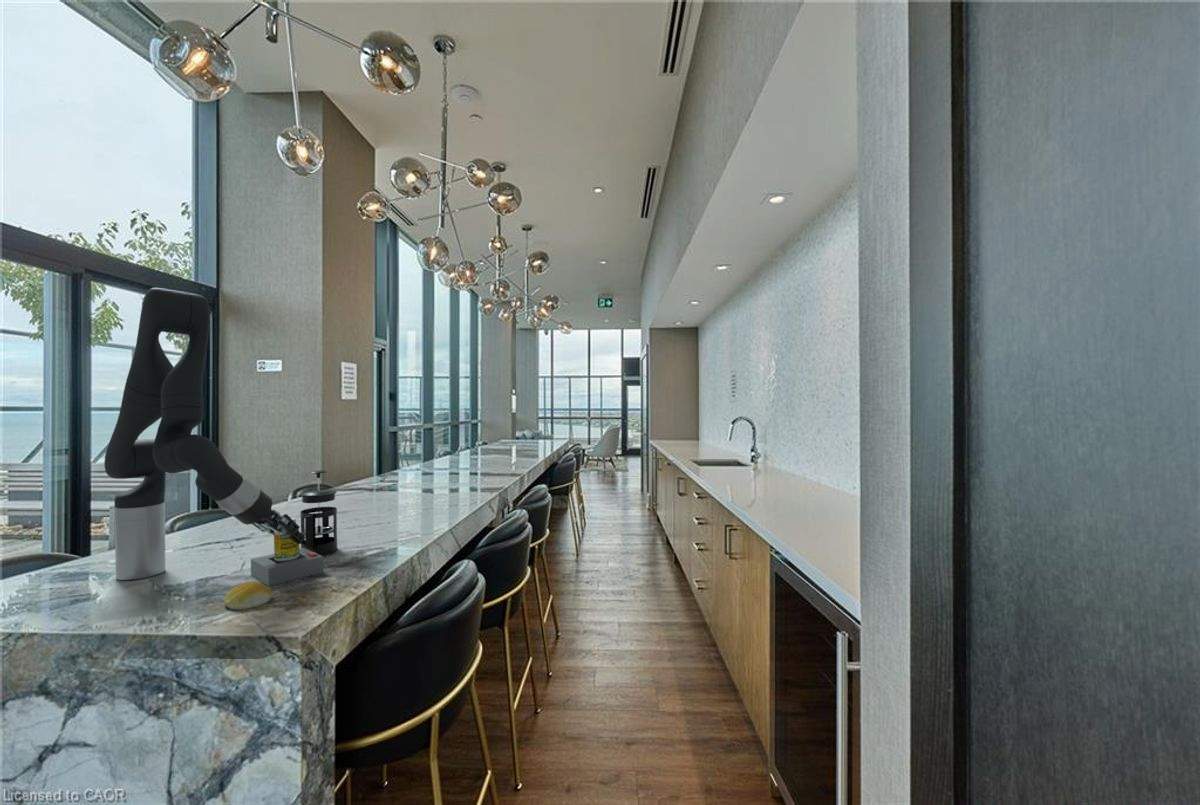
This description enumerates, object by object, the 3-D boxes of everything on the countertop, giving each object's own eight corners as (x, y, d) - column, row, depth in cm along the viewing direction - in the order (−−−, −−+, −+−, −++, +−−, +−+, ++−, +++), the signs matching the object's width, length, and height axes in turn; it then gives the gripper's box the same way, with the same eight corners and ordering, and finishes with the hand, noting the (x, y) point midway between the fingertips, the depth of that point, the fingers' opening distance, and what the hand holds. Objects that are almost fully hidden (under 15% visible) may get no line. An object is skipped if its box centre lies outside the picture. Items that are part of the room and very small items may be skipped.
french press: (310, 547, 150) (309, 468, 149) (344, 546, 150) (343, 467, 150) (290, 560, 138) (289, 474, 138) (327, 559, 139) (326, 473, 139)
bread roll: (262, 592, 116) (262, 574, 116) (277, 601, 110) (277, 583, 110) (217, 603, 110) (217, 584, 110) (231, 614, 104) (231, 594, 104)
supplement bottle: (295, 553, 131) (294, 515, 131) (303, 557, 127) (302, 518, 127) (271, 558, 127) (270, 519, 127) (278, 563, 123) (278, 522, 123)
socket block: (251, 575, 126) (250, 556, 126) (303, 562, 136) (303, 545, 136) (268, 586, 119) (268, 566, 119) (323, 572, 128) (323, 554, 128)
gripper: (275, 488, 117) (323, 529, 128) (236, 484, 123) (285, 523, 134) (251, 516, 112) (303, 556, 123) (212, 511, 118) (265, 549, 129)
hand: (293, 539), depth 129 cm, fingers closed on supplement bottle, 5 cm apart
